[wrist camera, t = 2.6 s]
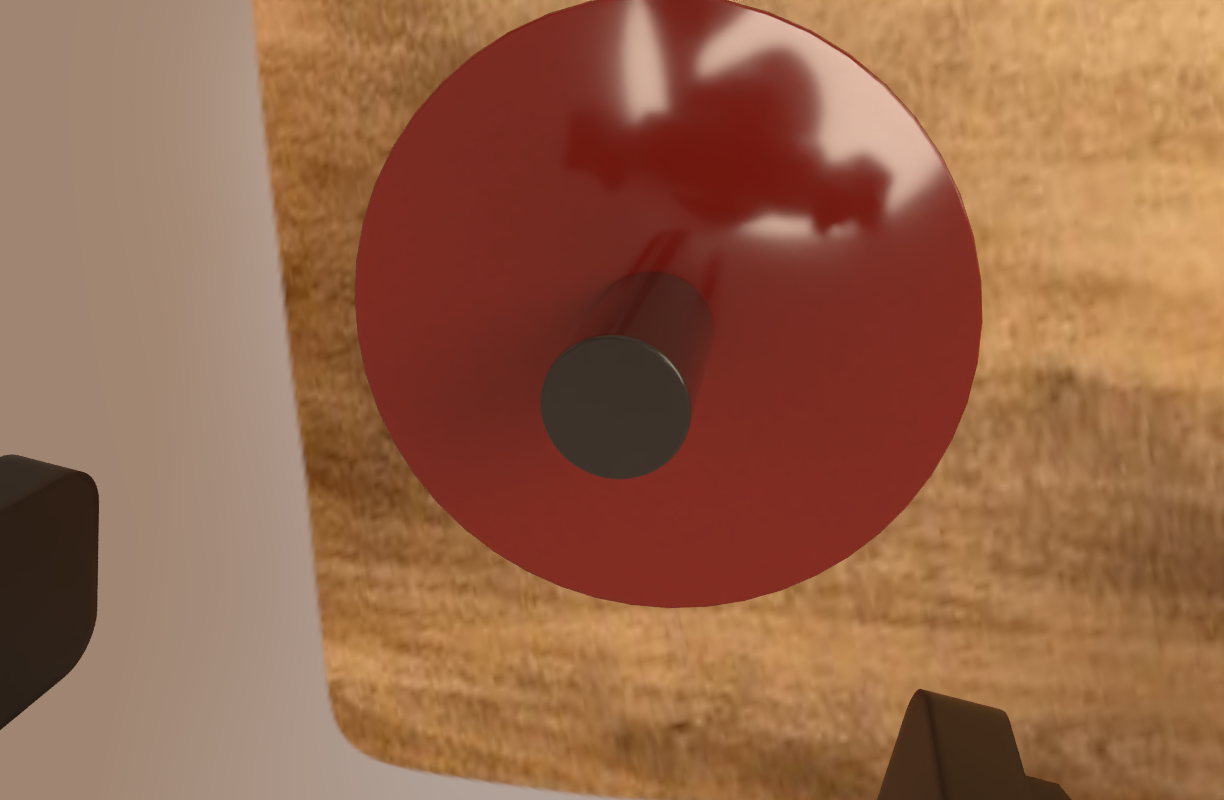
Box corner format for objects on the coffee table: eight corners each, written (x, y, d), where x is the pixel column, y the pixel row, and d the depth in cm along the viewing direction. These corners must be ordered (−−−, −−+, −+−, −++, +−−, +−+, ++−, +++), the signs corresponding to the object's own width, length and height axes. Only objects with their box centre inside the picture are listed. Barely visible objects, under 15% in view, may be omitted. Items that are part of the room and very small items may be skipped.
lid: (343, 510, 31) (216, 643, 24) (409, -65, 25) (269, -100, 19) (875, 647, 29) (898, 829, 23) (1065, 70, 24) (1169, 83, 17)
